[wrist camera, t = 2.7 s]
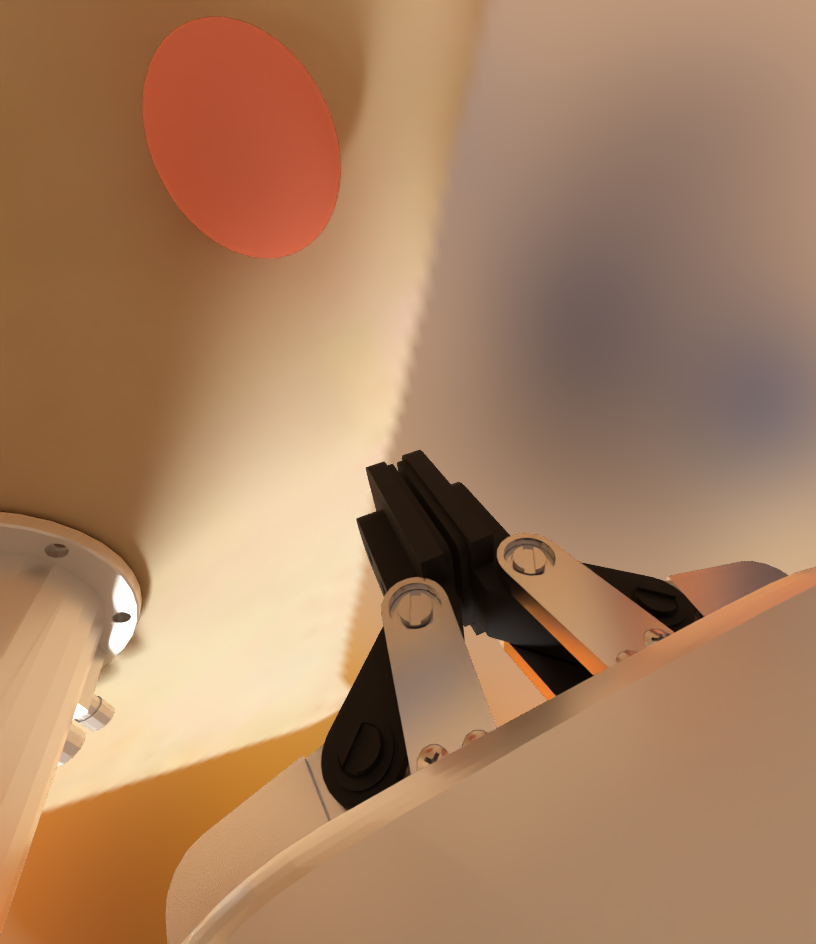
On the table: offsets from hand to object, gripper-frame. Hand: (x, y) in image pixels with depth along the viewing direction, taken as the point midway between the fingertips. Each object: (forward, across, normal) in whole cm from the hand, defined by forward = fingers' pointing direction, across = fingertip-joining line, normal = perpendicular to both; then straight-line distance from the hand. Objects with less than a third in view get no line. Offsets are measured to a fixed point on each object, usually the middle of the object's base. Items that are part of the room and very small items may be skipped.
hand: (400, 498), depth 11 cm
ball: (+9, +1, -9) cm, 13 cm away
